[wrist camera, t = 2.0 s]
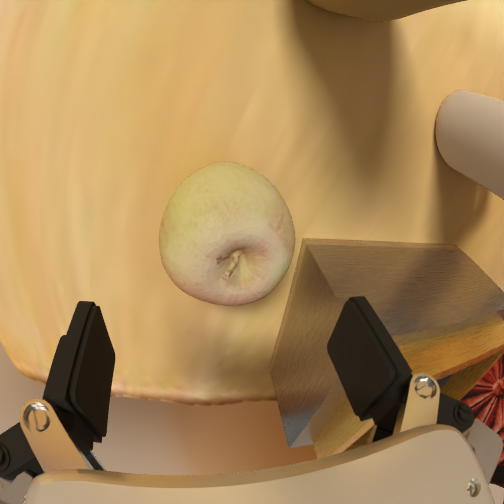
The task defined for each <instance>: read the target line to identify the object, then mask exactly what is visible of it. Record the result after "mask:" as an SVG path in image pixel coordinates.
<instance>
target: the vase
mask: <svg viewBox="0 0 504 504" xmlns="http://www.w3.org/2000/svg"><path fill="white" fill-rule="evenodd" d="M460 401H462V402H464V403H466V404H467V405H468V406H469V407H470V408H471V409H472V411H473V414H474V419H476V418H478V419H479V420H480V421H482V422H483V423H484V424H485V425H487V426H488V427H489V428H490V429H492V430H493V431H494V432H495V433H497V434H498V435H499V436H500V437H501V439H502V441H503V449H502V453H501V455H500V458H499V461H498V463H497V466H496V468H495V471H494V473H493V476H492V478H491V480H490V483H492V484H496V485H498V486H501V487H503V488H504V353H503V355H502V356H501V357H500V358H499V359H498V361H497V362H496V363H495V364H494V365H493V366H492V368H491V369H490V370H489V371H488V372H487V373H486V374H485V375H484V376H483V378H482V379H481V380H480V381H479V382H478V383H477V384H476V385H475V386H474V387H473V388H472V389H471V390H470V391H469V392H468V393H467V394H466V395H465V396H464V397H463V398H462V399H461V400H460ZM503 504H504V502H503Z"/></svg>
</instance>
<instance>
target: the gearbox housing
mask: <svg viewBox="0 0 504 504" xmlns="http://www.w3.org/2000/svg"><path fill="white" fill-rule="evenodd" d="M356 296H364V297H365V298H366V299H367V300H368V302H369V303H370V305H371V306H372V308H373V309H374V311H375V312H376V314H377V315H378V317H379V318H380V320H381V321H382V323H383V325H384V326H385V328H386V329H387V331H388V332H389V334H390V335H391V337H392V339H393V340H394V342H395V343H396V345H397V347H398V348H399V350H400V351H401V353H402V355H403V356H404V358H405V360H406V361H407V363H408V365H409V366H410V368H411V370H412V371H413V372H412V373H411V374H412V375H413V376H414V375H416V374H418V373H426V374H428V375H430V376H432V377H433V378H434V379H435V380H436V381H437V383H438V385H439V388H440V393H443V394H445V395H447V396H450V397H452V398H454V399H457V400H459V401H460V400H461V399H462V398H463V397H464V396H465V395H466V394H467V393H468V392H469V391H470V390H471V389H472V388H473V387H474V386H475V385H476V384H477V383H478V382H479V381H480V380H481V379H482V378H483V376H484V375H485V374H486V373H487V372H488V371H489V370H490V369H491V368H492V366H493V365H494V364H495V363H496V362H497V361H498V359H499V358H500V357H501V356H502V355H503V353H504V292H503V291H502V290H501V289H500V288H499V287H498V286H497V285H496V284H495V282H494V281H493V280H492V279H491V278H490V277H489V276H488V275H487V274H486V273H485V272H484V271H483V270H482V269H481V268H480V267H479V266H478V265H477V264H476V263H475V262H474V261H473V260H472V259H471V258H470V257H468V256H467V255H466V254H465V253H464V252H463V251H462V250H461V249H460V248H459V247H458V246H457V245H441V244H422V243H401V242H379V241H355V240H329V239H303V241H302V245H301V249H300V254H299V258H298V262H297V266H296V270H295V274H294V278H293V282H292V286H291V290H290V294H289V298H288V301H287V305H286V309H285V313H284V317H283V320H282V324H281V328H280V331H279V335H278V338H277V342H276V345H275V349H274V353H273V356H272V359H271V363H270V366H269V369H270V373H271V377H272V381H273V385H274V389H275V394H276V398H277V402H278V406H279V409H280V414H281V418H282V422H283V426H284V431H285V435H286V438H287V443H288V447H289V448H295V447H301V446H306V445H311V444H313V445H314V448H315V451H316V455H317V459H319V458H323V457H327V456H331V455H334V454H338V453H341V452H345V451H348V450H351V449H355V448H358V447H361V446H364V445H367V442H368V439H369V437H370V434H371V431H372V428H373V425H374V421H373V419H372V418H371V419H368V420H365V421H362V422H361V421H360V419H359V416H356V415H355V414H354V412H353V409H352V407H351V405H350V402H349V400H348V398H347V395H346V393H345V391H344V388H343V386H342V384H341V381H340V379H339V377H338V375H337V372H336V370H335V368H334V365H333V363H332V361H331V359H330V356H329V354H328V352H327V343H328V341H329V339H330V337H331V334H332V332H333V330H334V327H335V325H336V323H337V321H338V318H339V316H340V313H341V311H342V309H343V306H344V304H345V302H346V301H348V299H349V298H350V297H356Z"/></svg>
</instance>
